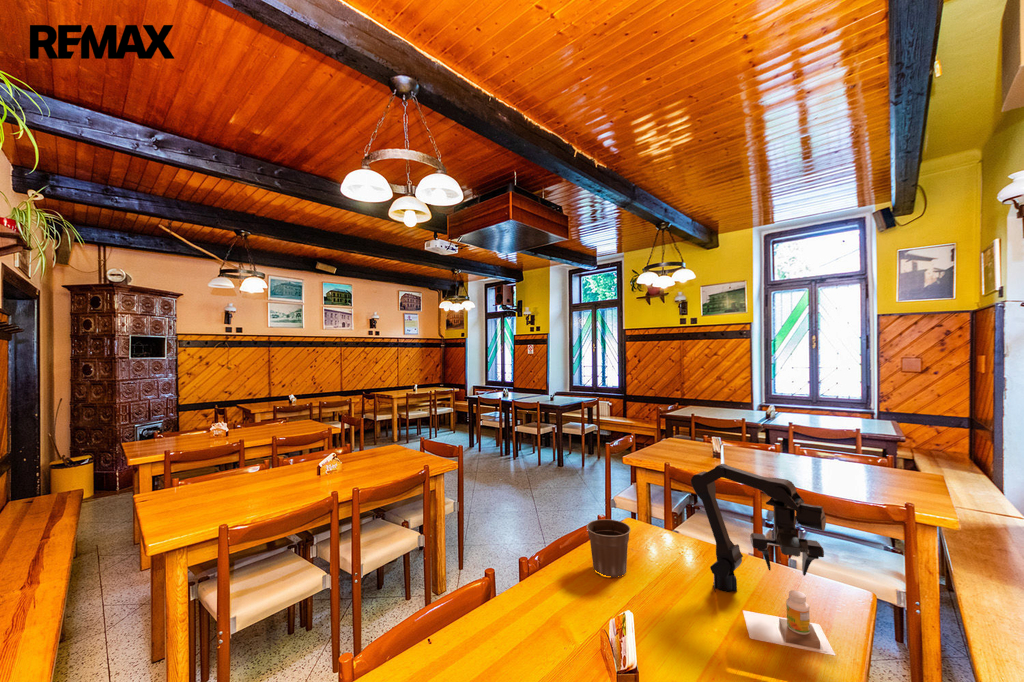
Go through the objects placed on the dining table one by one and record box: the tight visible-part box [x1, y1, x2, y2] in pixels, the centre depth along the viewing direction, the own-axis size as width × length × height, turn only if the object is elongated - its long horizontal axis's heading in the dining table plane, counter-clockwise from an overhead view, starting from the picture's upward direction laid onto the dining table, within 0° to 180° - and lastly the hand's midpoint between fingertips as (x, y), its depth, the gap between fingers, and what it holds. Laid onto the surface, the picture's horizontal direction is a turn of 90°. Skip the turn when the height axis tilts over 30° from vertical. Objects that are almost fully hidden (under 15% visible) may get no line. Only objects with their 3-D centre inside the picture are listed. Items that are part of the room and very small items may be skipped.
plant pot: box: [586, 518, 631, 578], centre depth 160 cm, size 16×16×16 cm
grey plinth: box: [779, 618, 820, 649], centre depth 119 cm, size 8×8×2 cm
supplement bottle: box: [785, 589, 811, 635], centre depth 120 cm, size 5×5×10 cm
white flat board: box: [742, 610, 836, 657], centre depth 122 cm, size 20×14×1 cm
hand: (786, 572), depth 132 cm, fingers open, 9 cm apart
